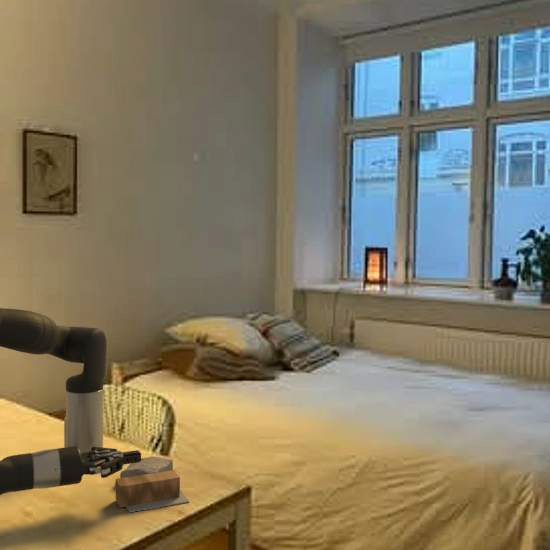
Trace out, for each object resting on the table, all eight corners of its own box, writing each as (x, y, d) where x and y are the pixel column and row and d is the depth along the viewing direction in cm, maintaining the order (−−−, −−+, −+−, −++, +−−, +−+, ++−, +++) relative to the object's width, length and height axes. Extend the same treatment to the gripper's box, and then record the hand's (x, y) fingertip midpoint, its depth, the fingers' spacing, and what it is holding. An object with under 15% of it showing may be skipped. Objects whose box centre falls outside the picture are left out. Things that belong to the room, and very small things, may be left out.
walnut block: (120, 486, 133) (179, 477, 139) (115, 479, 137) (173, 470, 143) (120, 507, 134) (179, 497, 139) (115, 499, 138) (173, 489, 144)
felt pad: (129, 513, 132) (129, 511, 132) (118, 494, 141) (118, 493, 141) (189, 502, 138) (189, 501, 138) (175, 485, 147) (175, 484, 147)
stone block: (117, 493, 145) (158, 488, 143) (114, 472, 145) (154, 467, 143) (139, 476, 157) (177, 471, 155) (136, 457, 157) (173, 452, 155)
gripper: (60, 460, 123) (148, 448, 131) (51, 439, 135) (133, 430, 143) (60, 498, 124) (148, 484, 132) (52, 474, 136) (132, 462, 143)
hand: (140, 455), depth 137 cm, fingers closed
